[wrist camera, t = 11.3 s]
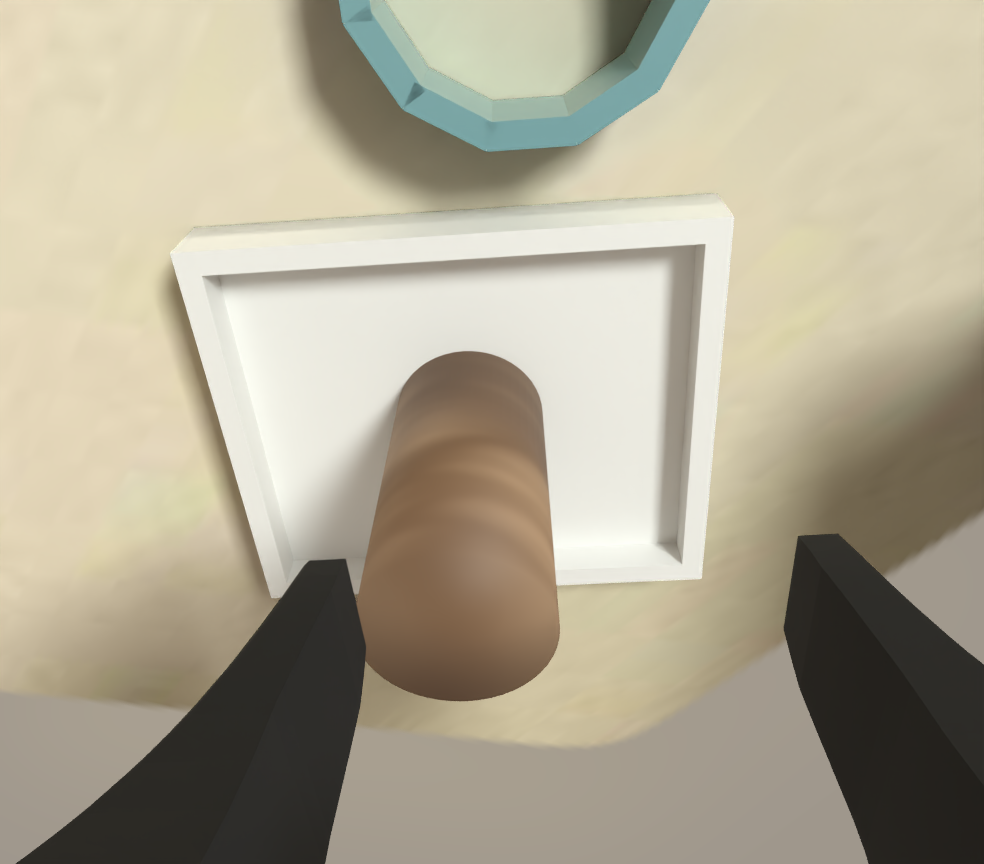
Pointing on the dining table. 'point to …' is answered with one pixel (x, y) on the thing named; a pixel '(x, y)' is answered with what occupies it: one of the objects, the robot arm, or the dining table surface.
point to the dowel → (462, 536)
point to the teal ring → (523, 118)
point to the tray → (482, 328)
